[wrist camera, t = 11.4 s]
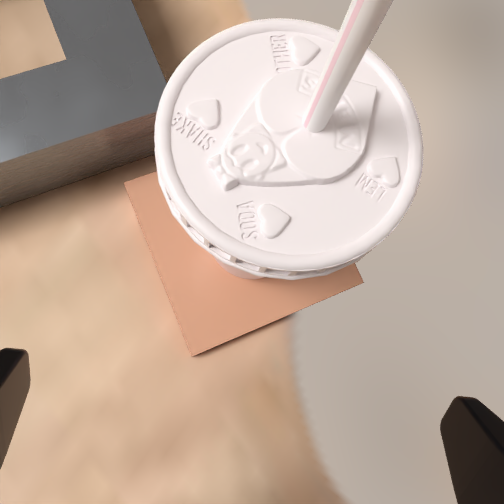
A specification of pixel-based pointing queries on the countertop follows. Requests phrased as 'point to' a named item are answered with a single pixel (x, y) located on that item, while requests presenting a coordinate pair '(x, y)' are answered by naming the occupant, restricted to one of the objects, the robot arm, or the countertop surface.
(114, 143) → the socket block
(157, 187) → the tile
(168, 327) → the countertop surface
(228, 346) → the countertop surface
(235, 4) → the countertop surface
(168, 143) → the smoothie
